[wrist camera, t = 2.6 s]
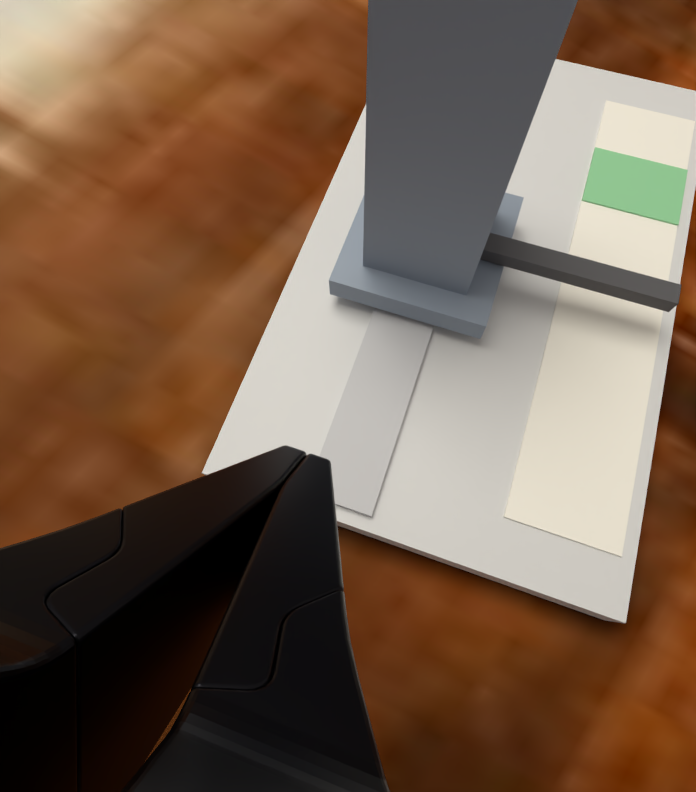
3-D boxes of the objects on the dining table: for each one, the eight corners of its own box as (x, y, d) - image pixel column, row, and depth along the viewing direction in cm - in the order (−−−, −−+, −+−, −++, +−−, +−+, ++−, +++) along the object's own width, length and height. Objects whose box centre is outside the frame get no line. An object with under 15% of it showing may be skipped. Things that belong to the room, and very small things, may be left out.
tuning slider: (641, 387, 19) (1048, 101, 8) (329, 294, 21) (299, -58, 9) (665, 254, 21) (1019, -129, 10) (377, 177, 23) (399, -232, 11)
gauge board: (605, 620, 19) (630, 623, 17) (212, 481, 20) (199, 471, 19) (691, 120, 26) (714, 88, 24) (399, 52, 28) (402, 18, 26)
